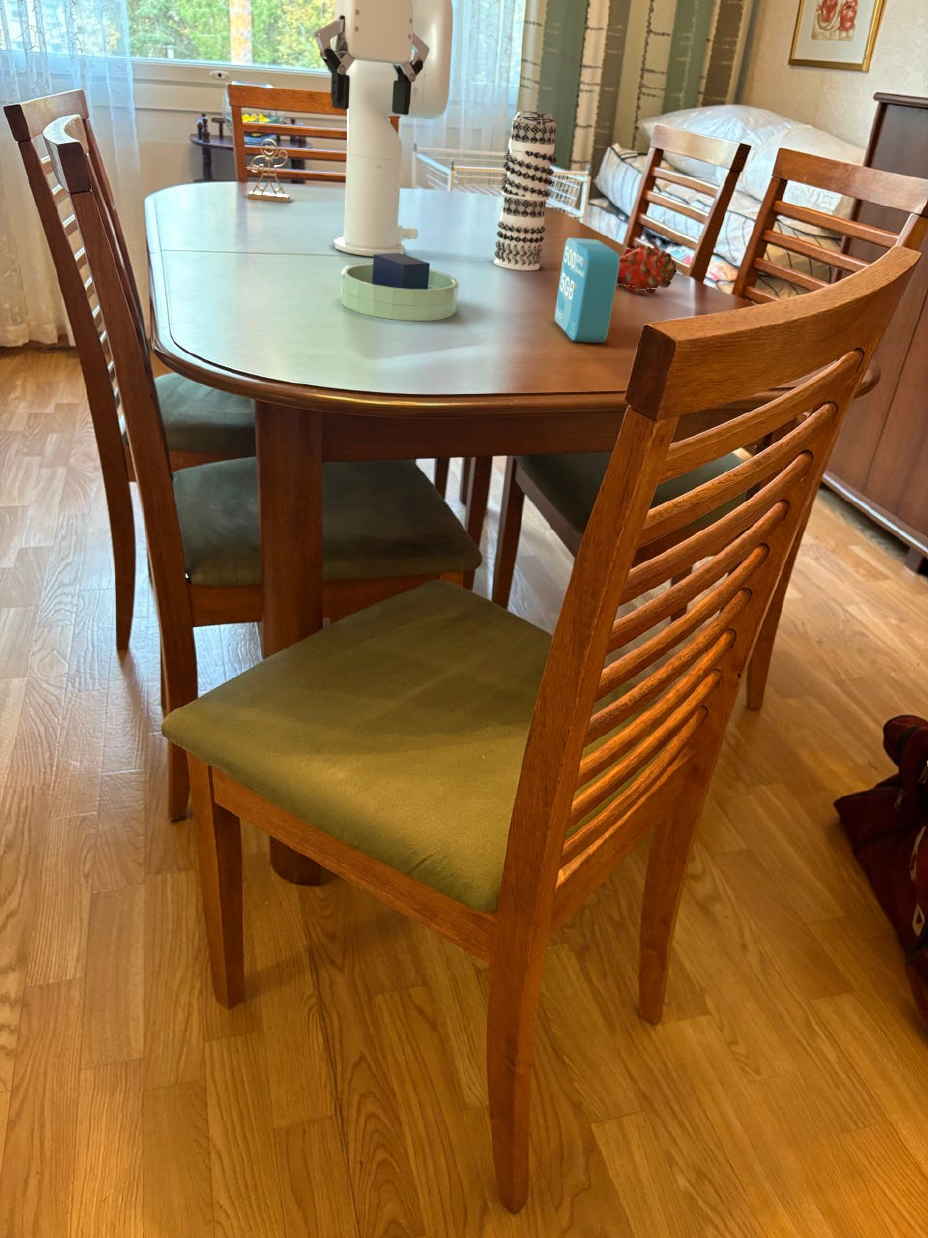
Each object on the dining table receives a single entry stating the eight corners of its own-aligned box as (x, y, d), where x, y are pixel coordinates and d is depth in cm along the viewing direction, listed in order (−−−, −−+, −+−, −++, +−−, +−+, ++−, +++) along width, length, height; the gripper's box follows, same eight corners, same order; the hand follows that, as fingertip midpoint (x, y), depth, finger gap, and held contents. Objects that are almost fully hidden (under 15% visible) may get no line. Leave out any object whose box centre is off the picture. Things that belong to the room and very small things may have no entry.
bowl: (406, 291, 148) (408, 261, 146) (478, 317, 138) (481, 285, 136) (318, 298, 138) (319, 266, 136) (388, 328, 128) (390, 293, 126)
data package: (553, 321, 141) (565, 235, 135) (582, 323, 142) (596, 237, 136) (574, 344, 131) (589, 252, 125) (606, 346, 132) (622, 254, 126)
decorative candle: (548, 266, 178) (570, 115, 165) (530, 273, 171) (551, 115, 158) (503, 257, 181) (521, 108, 168) (484, 263, 174) (501, 108, 161)
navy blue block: (395, 298, 141) (398, 252, 138) (426, 310, 137) (430, 262, 134) (371, 300, 139) (373, 253, 135) (401, 312, 134) (404, 264, 131)
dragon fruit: (675, 306, 166) (605, 308, 168) (674, 269, 170) (605, 270, 171) (680, 270, 159) (607, 272, 160) (679, 232, 162) (607, 234, 163)
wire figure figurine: (247, 198, 211) (246, 137, 205) (249, 195, 214) (249, 136, 208) (288, 202, 212) (288, 142, 206) (290, 199, 215) (290, 140, 209)
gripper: (416, -30, 129) (406, 113, 137) (303, -52, 119) (300, 103, 127) (449, -30, 124) (438, 118, 132) (334, -53, 114) (330, 108, 122)
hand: (370, 111), depth 130 cm, fingers open, 9 cm apart
